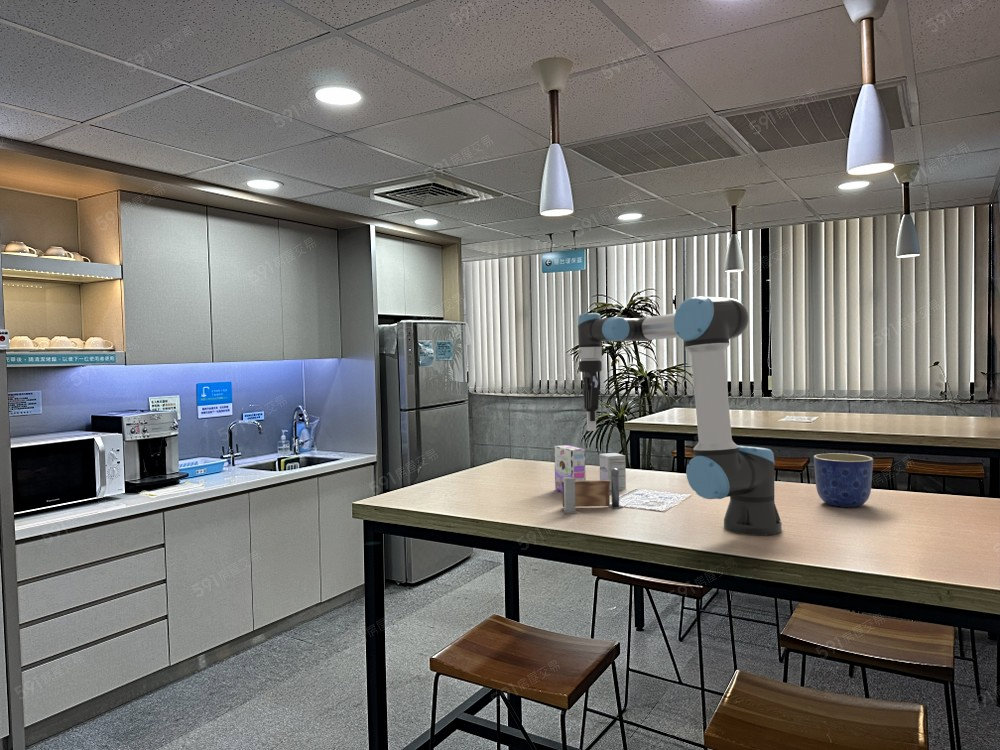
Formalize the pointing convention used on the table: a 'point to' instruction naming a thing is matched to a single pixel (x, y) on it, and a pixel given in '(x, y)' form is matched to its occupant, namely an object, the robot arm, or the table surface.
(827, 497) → the planter
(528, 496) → the table surface
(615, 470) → the hinge post
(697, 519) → the table surface
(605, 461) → the supplement box
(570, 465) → the candy box
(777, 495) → the table surface
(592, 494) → the gate
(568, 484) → the stile
